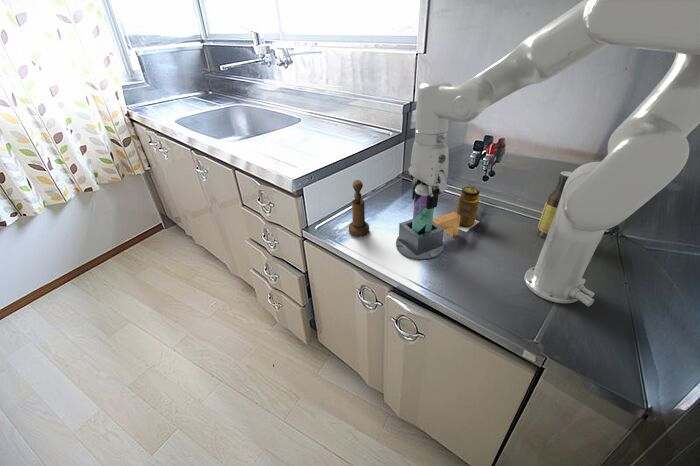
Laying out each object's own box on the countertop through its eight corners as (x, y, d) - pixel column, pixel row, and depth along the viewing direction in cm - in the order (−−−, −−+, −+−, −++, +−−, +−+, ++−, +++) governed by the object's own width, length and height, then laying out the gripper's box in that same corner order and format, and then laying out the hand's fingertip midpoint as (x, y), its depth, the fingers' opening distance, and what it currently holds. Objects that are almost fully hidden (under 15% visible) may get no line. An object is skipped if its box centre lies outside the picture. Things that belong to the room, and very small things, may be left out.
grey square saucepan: (470, 244, 95) (474, 224, 91) (414, 266, 87) (416, 245, 84) (439, 222, 105) (441, 204, 101) (387, 240, 98) (387, 221, 94)
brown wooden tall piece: (346, 235, 101) (343, 184, 91) (352, 225, 106) (349, 175, 96) (366, 238, 99) (365, 186, 89) (371, 227, 105) (371, 177, 94)
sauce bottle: (562, 241, 94) (587, 179, 83) (539, 240, 95) (561, 178, 84) (554, 229, 99) (577, 169, 88) (532, 228, 100) (552, 169, 89)
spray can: (419, 233, 97) (424, 173, 86) (433, 241, 94) (441, 178, 83) (407, 240, 94) (411, 179, 83) (422, 248, 91) (428, 185, 80)
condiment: (479, 222, 105) (486, 189, 98) (466, 232, 100) (472, 198, 93) (459, 214, 109) (465, 182, 103) (446, 224, 105) (450, 191, 98)
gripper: (468, 144, 72) (456, 213, 82) (421, 126, 85) (416, 188, 95) (442, 150, 69) (433, 221, 79) (397, 131, 82) (395, 194, 92)
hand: (424, 202), depth 87 cm, fingers closed on spray can, 5 cm apart
